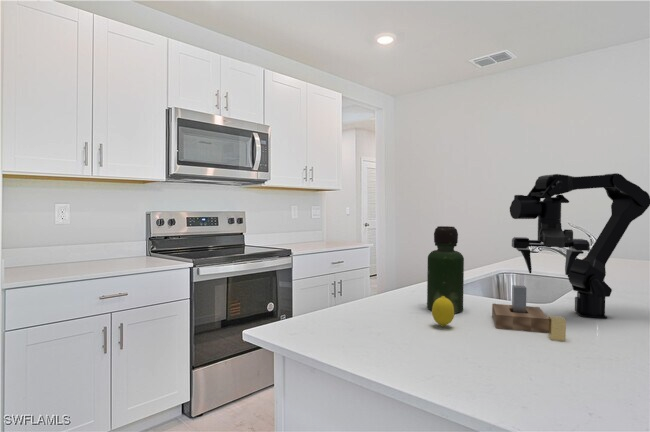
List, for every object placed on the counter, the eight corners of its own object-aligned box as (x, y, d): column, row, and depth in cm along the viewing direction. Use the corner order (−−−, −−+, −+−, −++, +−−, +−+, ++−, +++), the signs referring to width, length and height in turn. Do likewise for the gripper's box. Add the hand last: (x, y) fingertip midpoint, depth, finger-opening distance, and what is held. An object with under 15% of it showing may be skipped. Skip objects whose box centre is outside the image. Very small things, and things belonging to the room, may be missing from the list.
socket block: (539, 319, 112) (539, 307, 112) (548, 332, 100) (548, 318, 100) (492, 315, 115) (492, 303, 115) (495, 328, 104) (496, 314, 104)
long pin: (523, 322, 109) (524, 285, 108) (525, 326, 106) (526, 288, 106) (511, 321, 110) (512, 285, 109) (513, 325, 107) (513, 287, 107)
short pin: (562, 337, 97) (562, 316, 97) (565, 341, 94) (565, 320, 94) (548, 336, 98) (548, 315, 98) (551, 340, 95) (551, 319, 95)
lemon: (455, 330, 102) (455, 299, 102) (432, 329, 103) (432, 298, 103) (452, 324, 107) (453, 294, 107) (431, 323, 108) (431, 293, 108)
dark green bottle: (462, 315, 116) (463, 228, 115) (425, 312, 119) (426, 227, 118) (463, 306, 125) (464, 226, 125) (429, 304, 129) (429, 225, 128)
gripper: (517, 219, 110) (516, 277, 110) (596, 220, 104) (595, 281, 105) (511, 218, 120) (510, 270, 121) (583, 219, 115) (582, 274, 115)
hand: (548, 274), depth 115 cm, fingers open, 9 cm apart
